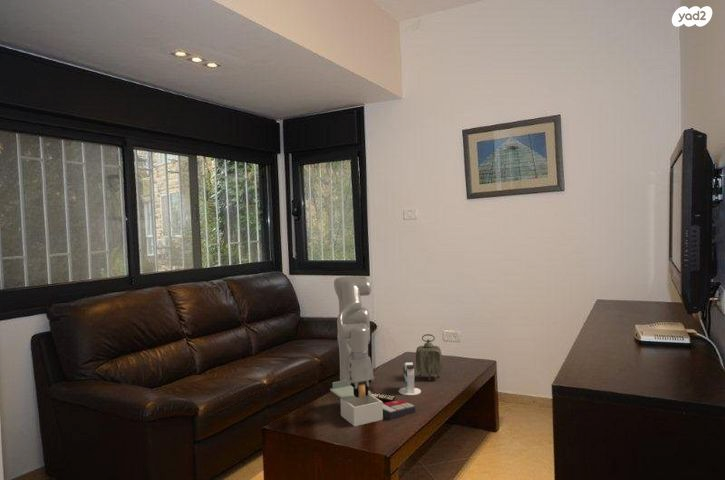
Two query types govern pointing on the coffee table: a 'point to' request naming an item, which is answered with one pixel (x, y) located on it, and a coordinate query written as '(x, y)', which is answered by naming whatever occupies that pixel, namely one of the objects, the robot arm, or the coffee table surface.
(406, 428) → the coffee table surface
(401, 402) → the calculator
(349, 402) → the box
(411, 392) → the white pedestal stand
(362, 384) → the tan cylinder
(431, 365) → the tabletop clock
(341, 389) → the lid
